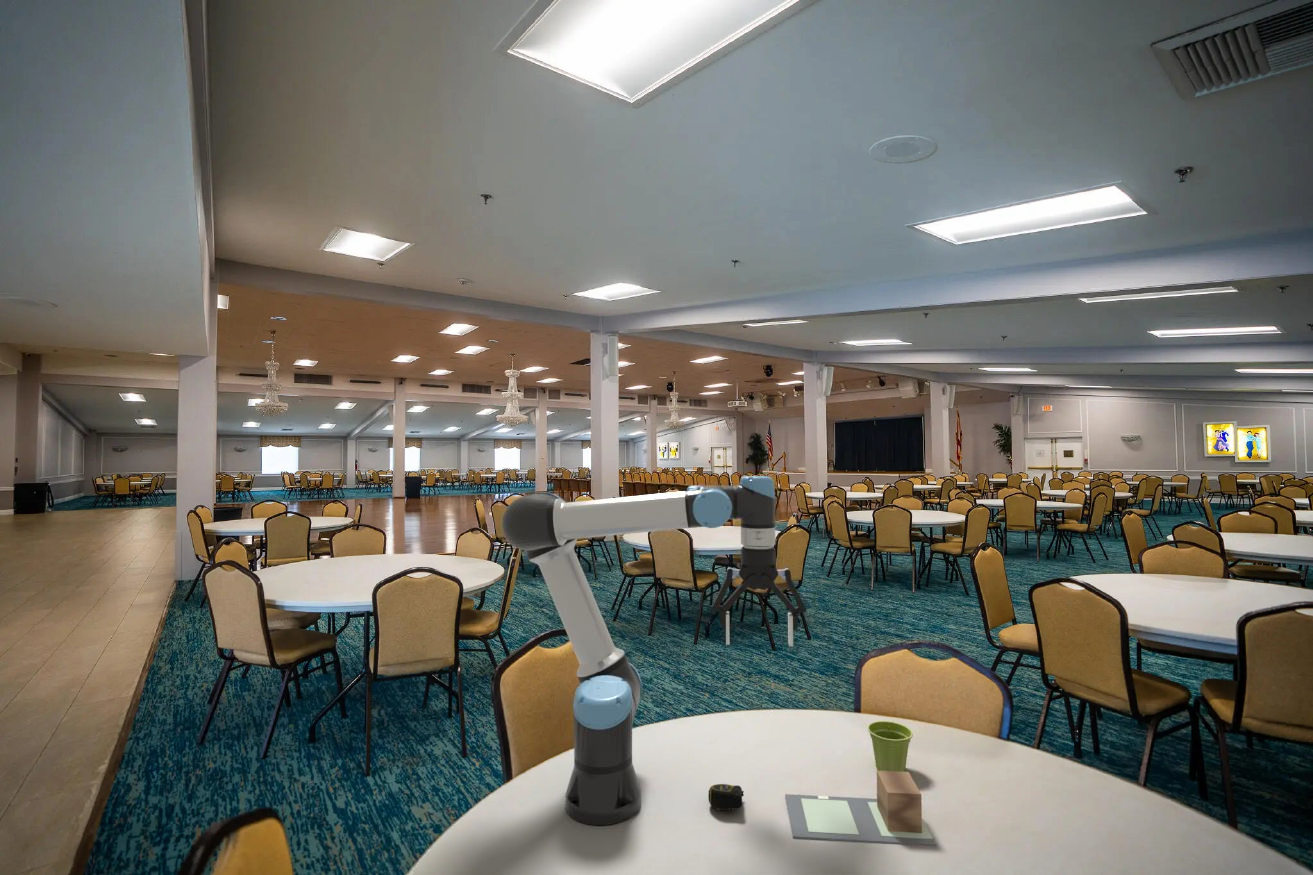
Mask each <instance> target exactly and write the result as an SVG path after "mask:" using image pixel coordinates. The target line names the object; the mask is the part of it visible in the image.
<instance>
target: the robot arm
mask: <svg viewBox="0 0 1313 875" xmlns="http://www.w3.org/2000/svg"><path fill="white" fill-rule="evenodd" d="M775 491H776V490H775V481H774V479H773V478H772V477H770V476H767V475H761V476H760V475H753V476H752V475H751V476H750V475H746V476H745V475H744V476H741V477H740V480H739V484H736V485H734V484H733V485H724V484H722V485H721V484H720V485H719V484H718V485H716V484H714V485H713V484H711V485H710V484H698V485H689V486H688V487H687V488H686V490H685V491H684V490H683V491H681V490H680V491H675V492H674V491H672V492H663V493H661V492H660V493H654V494H653V493H652V494H642V495H631V496H623V497H622V496H620V497H612V498H611V497H610V498H600V499H592V500H579V501H571V502H566V501H565V500H564V499H563V498H561V497H560V496H558V495H557V494H555V493H550V492H545V491H543V492H539V491H538V492H536V493H533V494H529V495H525V496H521V497H518V498H517V499H514V500H513V501H512V502H511V503H509V504H508V505H507V507H506V508H505V509H504V512H503V514H502V517H501V521H500V522H501V529H502V530H501V531H502V534H503V536H504V538H505V539H506V541H507V542H508V543H509V544H510V545H511V546H512V547H513V548H516V549H519V550H522V551H524V552H525V554H526V556H527V559H528V561H529V562H531V563H534V564H536V565H537V566H538V567H539V569H540V572H541V574H542V577H543V579H544V582H545V584H546V587H547V588H548V591H549V594H550V595H551V598H552V600H553V603H554V606H555V608H556V611H557V612H558V615H559V618H560V620H561V622H562V625H563V627H564V630H565V632H566V634H567V637H568V639H569V641H570V644H571V646H572V649H573V652H574V653H575V656H576V658H577V661H578V663H579V666H578V669H577V670H576V677H577V679H578V682H579V685H578V686H577V688H576V690H575V691H574V692H575V693H574V699H573V706H572V709H573V711H572V712H573V747H574V750H573V756H574V757H573V758H574V759H573V760H574V761H573V768H572V769H573V770H572V771H571V775H570V779H569V781H568V784H567V788H566V791H565V810H566V812H567V814H568V816H569V817H571V818H572V819H574V820H576V821H577V822H580V823H582V824H586V825H593V826H608V825H613V824H618V823H622V822H624V821H626V820H628V819H630V818H632V817H633V816H634V815H635V814H636V813H637V812H638V811H639V809H640V808H641V805H642V789H641V786H640V783H639V779H638V776H637V774H636V770H635V767H634V764H633V723H634V720H635V716H636V714H637V709H638V707H639V704H640V701H641V698H642V692H643V689H642V687H643V686H642V678H641V676H640V674H639V671H638V670H637V668H636V667H635V666H634V665H633V664H632V663H631V662H629V660H628V657H627V655H626V653H625V650H623V649H621V648H618V647H616V646H615V644H614V642H613V639H612V637H611V634H610V632H609V630H608V627H607V625H606V623H605V620H604V618H603V615H602V613H601V611H600V608H599V606H598V604H597V602H596V601H597V600H596V599H595V596H594V594H593V592H592V589H591V587H590V585H589V582H588V580H587V577H586V575H585V573H584V571H583V568H582V565H581V564H580V563H581V562H580V561H579V559H578V556H577V552H575V546H576V543H577V540H578V539H590V538H597V537H609V536H617V535H618V536H619V535H620V536H621V535H631V534H641V533H649V532H651V533H653V532H660V531H671V530H680V529H691V528H692V529H694V528H695V529H696V528H706V529H707V528H708V529H716V528H720V527H722V526H723V525H725V524H726V523H727V522H728V521H729V520H740V544H741V545H742V546H741V548H740V567H739V569H738V568H733V567H730V566H728V567H727V569H726V575H725V576H726V577H725V579H724V580H723V583H722V584H721V586H720V588H719V591H718V593H717V594H716V597H715V599H714V601H713V603H712V611H714V612H718V613H719V615H720V627H721V629H725V641H726V642H725V645H726V646H729V645H730V644H731V642H730V634H731V633H730V611H729V610H730V608H731V607H733V605H734V604H735V603H736V601H738V599H739V598H740V597H741V596H742V595H743V593H744V592H745V591H746V590H747V589H748V588H749V589H751V590H761V591H763V590H764V591H766V590H768V589H769V588H770V590H772V592H773V593H774V594H775V596H777V597H778V599H779V600H780V601H781V602H782V604H783V605H784V606H785V607H786V608H787V609H788V610H789V611H790V612H787V641H788V642H787V643H788V646H789V647H794V631H797V630H798V629H799V615H801V614H802V613H806V612H807V608H806V606H805V603H804V602H803V600H802V598H801V596H800V594H799V592H798V590H797V587H796V586H795V585H794V584H795V583H794V582H793V580H792V574H791V571H790V569H789V568H788V567H785V568H783V569H777V566H776V565H777V564H776V560H777V558H776V555H777V554H776V548H775V547H774V546H775V545H776V494H775V493H776V492H775ZM737 576H739V577H740V578H741V579H742V581H741V582H740V583H739V585H738V586H737V588H736V589H734V591H733V592H732V593H731V595H730V596H729V597H728V598H727V599H726V601H725V602H723V604H722V605H721V603H722V601H723V599H724V597H725V596H726V593H727V591H728V589H729V588H730V585H731V583H732V580H734V579H736V578H737ZM778 576H779V577H781V579H782V580H783V581H784V580H785V583H786V584H787V586H788V589H789V590H790V592H791V595H792V596H793V598H794V601H795V602H796V604H797V606H796V607H795V605H794V604H793V603H792V602H791V600H790V599H789V598H788V597H787V596H786V595H785V593H784V592H783V591H782V590H781V588H780V587H778V585H777V584H776V583H775V581H776V579H777V578H778Z"/></svg>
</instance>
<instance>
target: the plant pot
mask: <svg viewBox="0 0 1313 875" xmlns="http://www.w3.org/2000/svg"><path fill="white" fill-rule="evenodd" d="M867 731H868V733H869V735H870V739H871V741H872V748H873V755H874V762H875V767H876V769H877V770H878V771H900V772H906V768H907V766H906V765H907V761H908V760H907V757H908V751H909V746H910V745H909V744H910V743H911V739H912V738H913V735H914V732H913V731H912V729H911V728H909V727H907V726H906V725H903V724H902V723H898V722H894V721H889V720H888V721H887V720H879V721H878V720H877V721H873V722H871V723H869V724H868V725H867Z"/></svg>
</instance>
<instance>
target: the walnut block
mask: <svg viewBox="0 0 1313 875" xmlns="http://www.w3.org/2000/svg"><path fill="white" fill-rule="evenodd" d="M876 799H877V807H878V810H879V812H880V814H881V816H882V819H883V821H884V823H885V825H886V828H887V830H888V831H894V832H911V833H922V819H923V815H922V814H923V810H922V793H921V791H920V789H919V787H918V786H917V784H916V783H915V781H914V779H913V778H912V775H911V774H910V772H909V771H905V772H900V771H879V770H878V769H877V770H876Z"/></svg>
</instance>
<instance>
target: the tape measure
mask: <svg viewBox="0 0 1313 875" xmlns="http://www.w3.org/2000/svg"><path fill="white" fill-rule="evenodd" d="M743 797H744V790H742V786H740V785H731V784H727V783H717V784H712V785H711V786H710V787H709V790H708V802H709V804H710V806H711V807H712V808H714V809H717V810H718V811H720V810H723V811H728V810H736V809H741V808H742V806H743Z"/></svg>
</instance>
